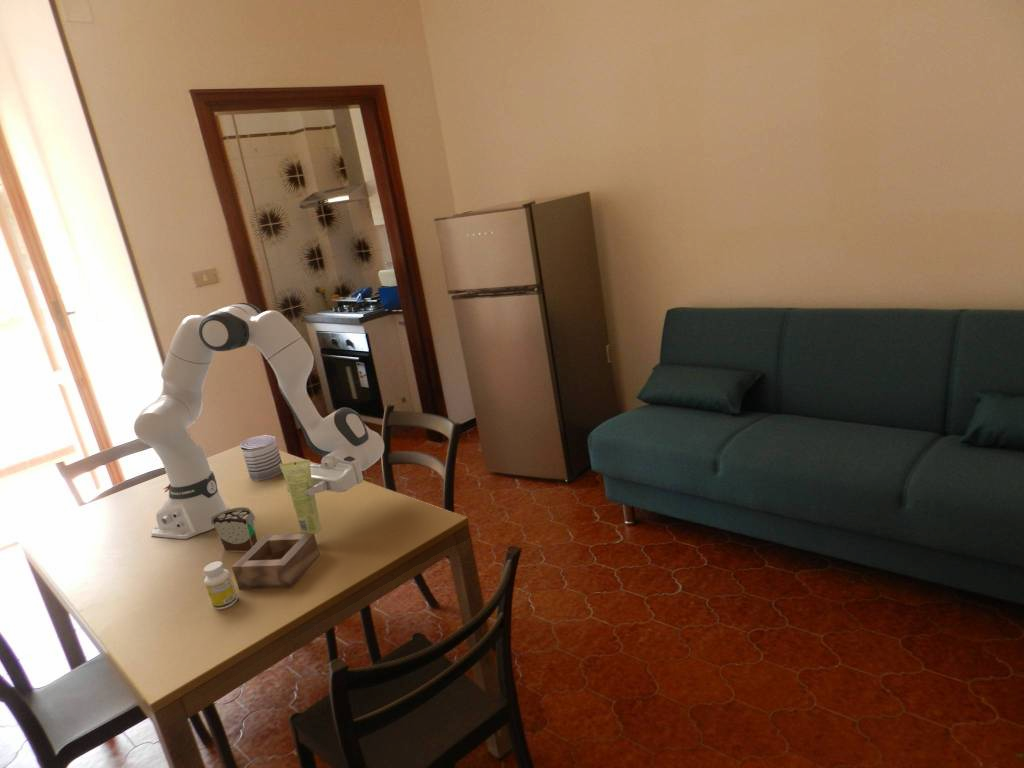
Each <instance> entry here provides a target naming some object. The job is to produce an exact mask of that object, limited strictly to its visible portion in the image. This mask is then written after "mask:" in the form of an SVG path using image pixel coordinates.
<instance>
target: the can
mask: <svg viewBox="0 0 1024 768" xmlns="http://www.w3.org/2000/svg"><path fill="white" fill-rule="evenodd" d="M239 448H240V449H241V450H240V451H241V453H242V456H243V460H244V463H245V465H246V469H247V472H248V475H249V479H250V480H251V481H258V482H259V481H263V480H268V479H271V478H274V477H276V476H278V475H280V474H281V473H282V470H281V468H280V465H279V464H283V460H282V458H281V454H280V450H279V447H278V444H277V440H276V436H275V435H267V434H263V435H258V436H257V435H256V436H253V437H250V438H247V439H245V440H243V441H241V442H240V443H239Z"/></svg>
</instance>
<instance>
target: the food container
mask: <svg viewBox="0 0 1024 768" xmlns="http://www.w3.org/2000/svg"><path fill="white" fill-rule="evenodd" d="M228 509H229V508H228ZM211 519H212V520H211V523H212V525H213V524H214V526H215V528H214V529H215V531H216V534H217V535H218V538H219V541H220V542H221V545H222V547H223V550H224V552H229V551H231V552H234V553H236V552H237V553H247V552H248V551H249V550H250V549H251V548H252V547H253V546H254V545H255V544H256V543H257V542H258V539H257V532H256V529H255V525H254V524H255V523H254V521H255V520H256V517H255V514H254V512H253V511H252V510H251V509H250V508H248V507H244V506H241V507H240V506H239V507H233V508H230V509H229V510H226V511H223V512H221V513H218V514H216V515H215V516H213V517H211Z"/></svg>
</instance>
